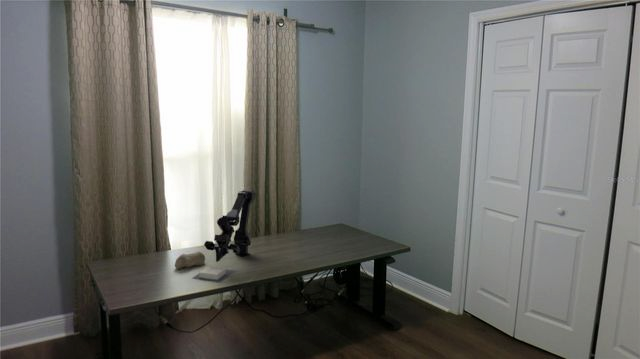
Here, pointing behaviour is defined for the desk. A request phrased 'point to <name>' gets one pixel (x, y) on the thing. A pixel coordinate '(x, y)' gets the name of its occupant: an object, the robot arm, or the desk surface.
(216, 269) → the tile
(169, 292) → the desk surface
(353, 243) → the desk surface
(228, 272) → the mat
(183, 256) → the sculpture
